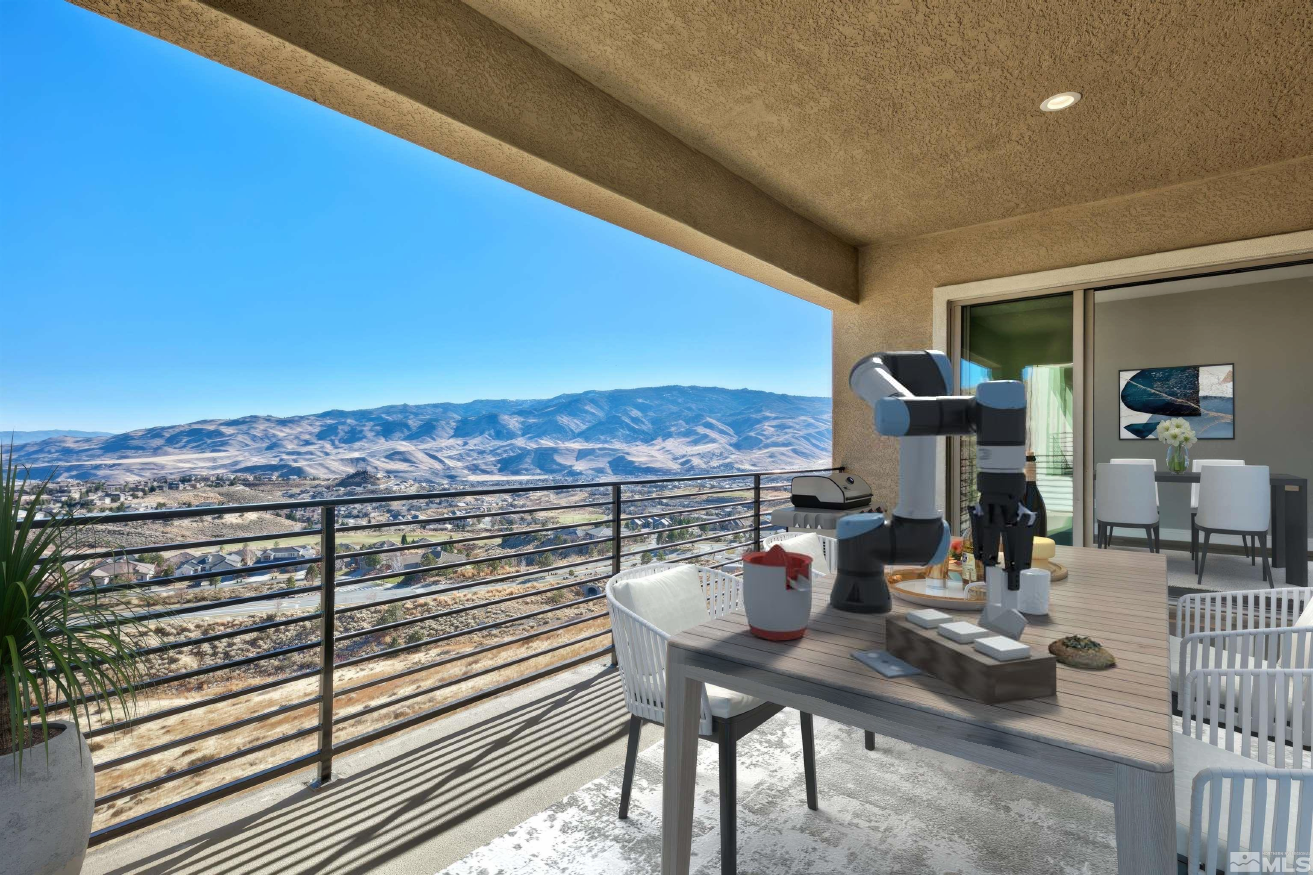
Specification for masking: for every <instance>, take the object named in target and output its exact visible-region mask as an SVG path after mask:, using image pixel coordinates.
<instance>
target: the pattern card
mask: <svg viewBox="0 0 1313 875" xmlns="http://www.w3.org/2000/svg"><path fill="white" fill-rule="evenodd" d="M850 656H851V657H852V658H855V660H858V661H860V662H861V663H863V664H865V665H867V666H868V667H869V668H871V669H873V670H875V671H877V672H878V673H879V674H882V675H883V676H885V677H886V678H889V679H891V678H899V677H906V676H912V675H913V676H914V675H920V674H922V671H921V670H920V669H918V668H917V667H914V666H912V664H911V665H910V663H909V664H908V662H904V661H903V660H901V659H899V658H898V657H895V655H893V654H890V653H888V652H887V651H884V650H882V649H877V650H868V651H859V652H853V653H850Z"/></svg>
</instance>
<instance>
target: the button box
mask: <svg viewBox="0 0 1313 875" xmlns="http://www.w3.org/2000/svg"><path fill="white" fill-rule="evenodd" d="M941 613H944V614H946V615H949V616H952V617H953V623H955V622H967V623H970V624H972V625H975V626H977V627H980V626H979V625H978V624H974V623H971V622H969V621H966V620H964V619H961V618H959V617H956V616H953V615H951V614H948V613H946V612H941ZM980 628H982V627H980ZM982 629H985V628H982ZM985 630H987V629H985ZM988 631H989V637H997V636H1003V635H1000V634H998V633H995V632H992V631H990V630H988ZM1003 637H1005V636H1003ZM1006 638H1008V637H1006ZM1008 639H1011V638H1008ZM1011 640H1013V639H1011ZM1013 641H1016V640H1013ZM1016 642H1018V641H1016ZM1019 643H1021V644H1024V645H1026V646H1029V647H1030V657H1025V658H1018V659H1011V660H1003V661H1001V660H999V659H996V658H994V657H992V656H990V655H987V654H985V653H983V652H980V651H978V650H976V649H974V642H968V643H960V642H957V641H955V640H953V639H950V638H948V637H946V636H944V635H941V634H939V633H938V627H934V628H925V627H923V626H921V625H918V624H916V623H914V622H911V621H909V620H907V615H905V616H896V617H895V616H894V617H888V618H885V651H886V652H889V653H891V655H893V656H897V658H901V659H902V660H904V661H906V663H909V664H911V665H914V666H916V668H919V669H921V670H923V671H924V672H926V673H929V674H930V675H932V676H934V677H935V678H938V679H940V680H942V681H943V682H945V683H947V684H949V685H950V686H953V687H955V688H957V689H958V690H960V691H962V692H964V693H966V694H968V695H970V696H972V697H973V698H975V699H977V700H978V701H981V702H983V703H985V704H986V705H989V706H990V705H991V706H993V705H998V704H1006V703H1010V702H1011V701H1012V702H1016V701H1023V700H1028V699H1036V698H1042V697H1048V696H1054V695H1057V658H1056V656H1055V655H1052V654H1050V653H1049V652H1047V651H1044V650H1042V649H1038V648H1036V647H1034V646H1031V645H1029V644H1026V643H1024V642H1020V641H1019Z"/></svg>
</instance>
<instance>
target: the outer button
mask: <svg viewBox="0 0 1313 875" xmlns="http://www.w3.org/2000/svg"><path fill="white" fill-rule="evenodd" d="M1019 642H1020V641H1019ZM1019 642H1016V641H1013V640H1011V639H1008V638H1006V637H1003V636H997V637H989V638H981V639H974V649H976V650H978V651H980V652H983V653H985V654H987V655H990V656H992V657H994V658H996V659H999V660H1001V661H1003V660H1011V659H1018V658H1025V657H1030V647H1029V646H1030V645H1029V646H1026V645H1027V644H1026V645H1024V644H1025V643H1024V644H1021V643H1022V642H1021V643H1019Z"/></svg>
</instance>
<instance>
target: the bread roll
mask: <svg viewBox="0 0 1313 875" xmlns="http://www.w3.org/2000/svg"><path fill="white" fill-rule="evenodd" d="M1047 650H1048V653H1049V654H1052V655H1055V656H1056V661H1059V662H1061V663H1064V664H1066V665H1069V666H1070V665H1071V666H1073V667H1078V668H1081V669H1082V668H1089V669H1103V668H1107V667H1108V666H1109V665H1112V664H1115V663H1116V662H1117V660H1116V659H1115V656H1114V655H1113V654H1112V653H1110V651H1108V650H1107V649H1106V648H1104V647H1103V646H1102V645H1101V643H1099V642H1098V641H1095V640H1092V639H1091V638H1090V637H1089V636H1085V637H1080V636H1078V635H1076V634H1074V635H1073V636H1070V635H1066V636H1065V637H1061V638H1060V639H1058V640H1054V641H1053V642H1051V643H1050V644H1048V647H1047Z"/></svg>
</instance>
